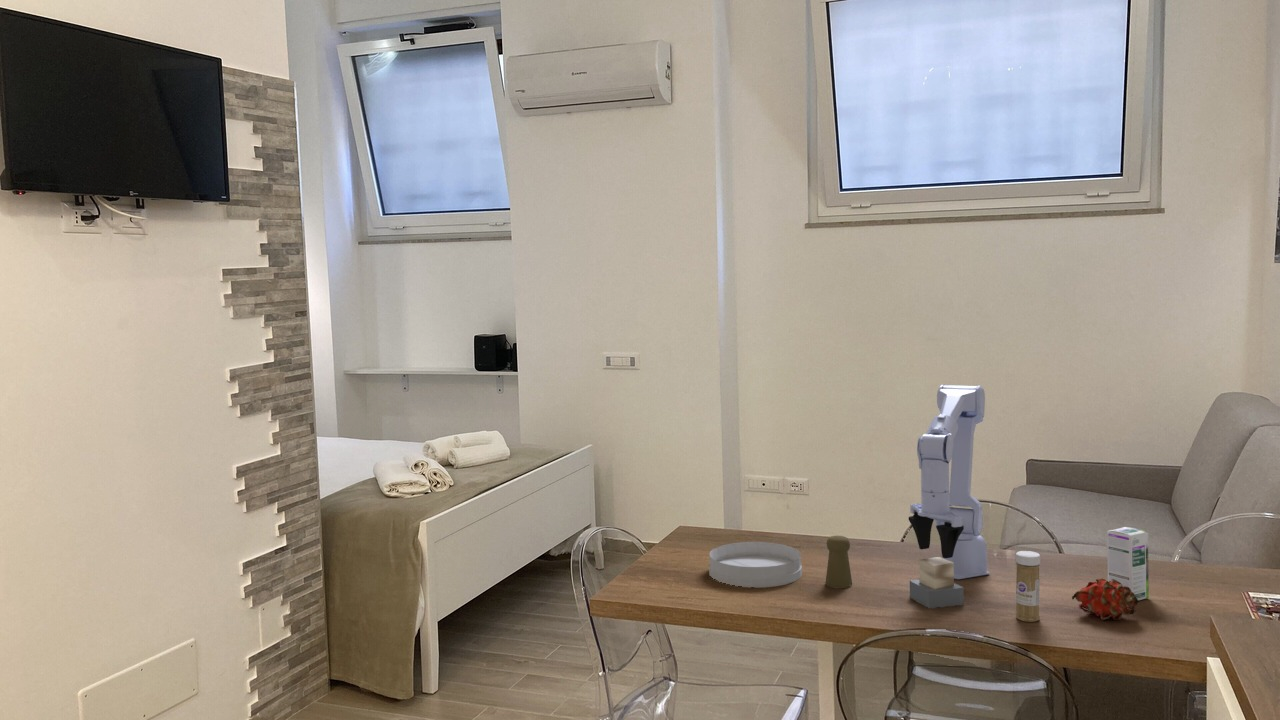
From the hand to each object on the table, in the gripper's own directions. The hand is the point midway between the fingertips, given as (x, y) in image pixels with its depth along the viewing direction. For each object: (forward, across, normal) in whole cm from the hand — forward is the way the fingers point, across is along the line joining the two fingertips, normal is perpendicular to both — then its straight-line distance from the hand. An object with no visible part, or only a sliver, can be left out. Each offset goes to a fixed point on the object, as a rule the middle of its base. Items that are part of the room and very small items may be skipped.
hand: (935, 553), depth 203 cm
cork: (+11, -19, -12) cm, 25 cm away
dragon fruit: (+11, +23, +23) cm, 34 cm away
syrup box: (+11, +16, +37) cm, 42 cm away
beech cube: (+7, 0, 0) cm, 7 cm away
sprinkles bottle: (+11, +17, +9) cm, 22 cm away
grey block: (+11, 0, 0) cm, 11 cm away
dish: (+11, -35, -25) cm, 44 cm away
